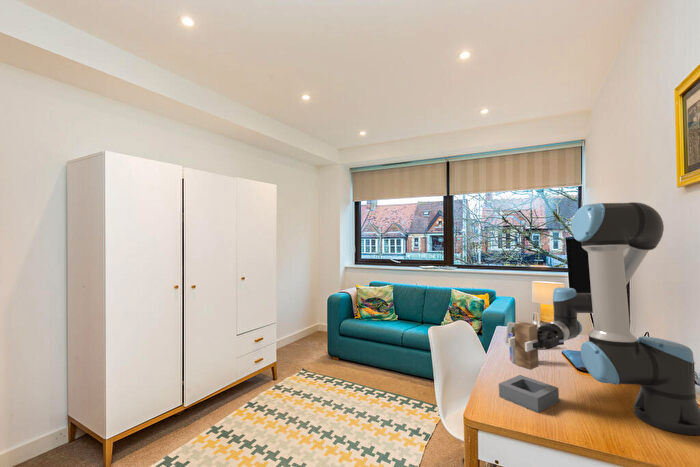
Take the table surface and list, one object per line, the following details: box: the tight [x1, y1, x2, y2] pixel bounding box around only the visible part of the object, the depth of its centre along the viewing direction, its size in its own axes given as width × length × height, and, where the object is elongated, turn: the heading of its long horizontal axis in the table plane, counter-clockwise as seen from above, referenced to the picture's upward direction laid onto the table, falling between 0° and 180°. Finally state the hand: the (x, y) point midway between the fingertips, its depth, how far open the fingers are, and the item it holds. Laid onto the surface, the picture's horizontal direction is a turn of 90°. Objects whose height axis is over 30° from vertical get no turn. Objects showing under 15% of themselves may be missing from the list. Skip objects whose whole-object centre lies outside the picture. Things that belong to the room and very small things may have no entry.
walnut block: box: [514, 321, 539, 371], centre depth 110 cm, size 5×5×14 cm
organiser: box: [498, 374, 560, 414], centre depth 109 cm, size 13×13×4 cm
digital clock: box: [505, 321, 540, 344], centre depth 166 cm, size 16×9×11 cm, turn 29°
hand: (517, 344), depth 107 cm, fingers closed on walnut block, 5 cm apart
